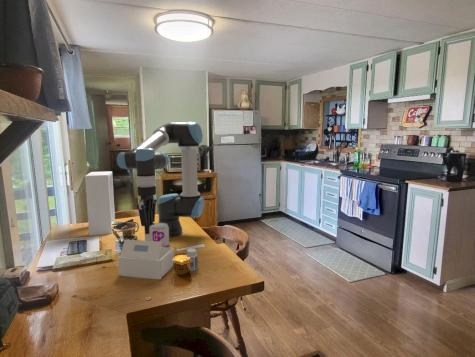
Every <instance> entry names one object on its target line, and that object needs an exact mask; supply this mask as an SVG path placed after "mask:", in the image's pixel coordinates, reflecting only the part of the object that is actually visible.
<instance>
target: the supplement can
mask: <svg viewBox="0 0 475 357" xmlns="http://www.w3.org/2000/svg"><path fill="white" fill-rule="evenodd" d="M152 237H153V240H152V241H157V242H162V244H161V247H169V248H171V247H170V237H169V227H168V225H167V224H166V223H159V222H157V223H156V222H155V223H154V225H152Z"/></svg>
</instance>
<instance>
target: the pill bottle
mask: <svg viewBox="0 0 475 357" xmlns="http://www.w3.org/2000/svg"><path fill="white" fill-rule="evenodd" d="M186 256H187V257H190V258H191V262H190V272H194V271H196V270H198V269H199V267H198V266H199V265H198V260H199V259H198V254H197V249H196V248H188V249H187V250H186ZM186 256H185V257H186Z"/></svg>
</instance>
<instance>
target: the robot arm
mask: <svg viewBox="0 0 475 357" xmlns="http://www.w3.org/2000/svg"><path fill="white" fill-rule="evenodd" d="M200 125H201V124H199V123H198V122H197V121H196V122H194V121H182V122H181V121H178V122H176V121H175V122H169V123H165V124H163V125H161V126H159V127H158V128H156V129H155V130H154V131H153V132H152V134H151V135H150V136H149V137H147V138H146V139H145V140H143V141H142V142H140V143H139V144H137V145H136V146H135V147H134V148H132V149H131V150H129V151H124V152H119V153H118V155H117V157H116V163H117V166H118V167H119V168H120V169H124V170H125V169H126V170H136V185H137V187H136V188H137V190H136V191H137V196H139V197H140V200H139V201H140V202H139V204H137V205H136V209H137V210H138V216H139V221H140V225H141V227H143V228H144V241H152V240H153V237H152V225H154V224H155V223H156V222H155V220H156V219H155V218H156V208H158V223H166V224H167V225H168V227H169V238H171V237H176V236H179V235H181V234H182V233H183V227H182V225H181V222H180V217H181V218H199V217H201V216H202V214H203V211H204V208H205V199H204V197H203V196H202V197H201V192H200V191H198V190H199V189H198V186H199V185H198V157H197V156H198V154H197V152H198V148H200V144H201V143H202V142H203V139H204V138H203V137H204V134H203V130H202V128H201V126H200ZM167 144H177V145H178V146H177V147H178V148H179V150H180V151H181V152H180V156H181V186H182V188H181V189H182V192H181V193H180V194H178V193H168V194H164V195H160V196H159V197H158V200H157V199H155V198H154V196H155V195H156V194H157V186H156V185H157V179H156V178H157V177H156V170H162V169H164V168H167V167H168V165H169V163H170V159H169V156H168V154H167V153H165V152H163V151H162V152H161V151H158V150H159V149H160V148H161V147H163V146H166V145H167ZM156 206H157V207H156Z"/></svg>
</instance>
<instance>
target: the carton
mask: <svg viewBox="0 0 475 357" xmlns="http://www.w3.org/2000/svg"><path fill="white" fill-rule="evenodd" d="M169 247H170V246H169ZM169 247H161V249H160V253H159V258H158V259H146V258H133V257H120V255H119V256H118V275H119V277H126V278H127V277H128V278H136V279H148V280H149V279H150V280H158V279H159V281H161V280H162V277H163V276H164V275H165V274H168V272H170V270H171V269H173V267H174V266H173V261H172V259H173V258H174V259H175V247H170V248H169ZM165 276H166V275H165ZM165 276H164V277H165ZM164 277H163V278H164Z"/></svg>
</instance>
